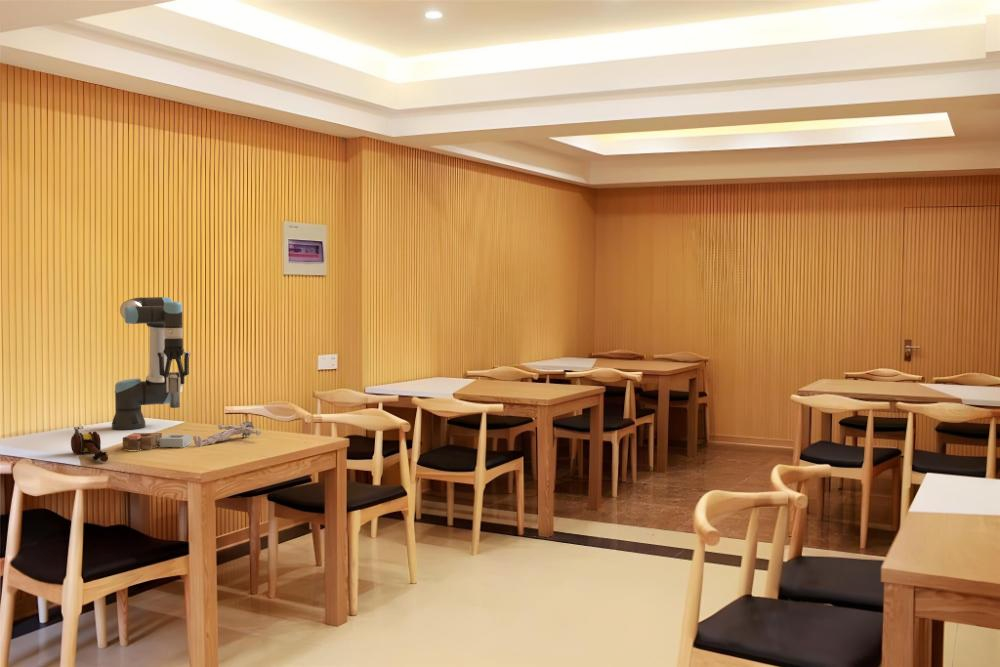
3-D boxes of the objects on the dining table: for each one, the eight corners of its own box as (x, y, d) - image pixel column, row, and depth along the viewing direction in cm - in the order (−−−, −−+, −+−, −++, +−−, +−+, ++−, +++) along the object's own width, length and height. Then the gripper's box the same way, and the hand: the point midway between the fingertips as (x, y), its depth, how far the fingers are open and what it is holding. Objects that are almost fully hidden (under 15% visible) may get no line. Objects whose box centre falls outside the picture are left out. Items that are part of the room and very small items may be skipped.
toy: (176, 433, 392) (231, 414, 416) (179, 451, 393) (234, 432, 417) (216, 439, 376) (271, 420, 400) (219, 458, 378) (274, 438, 402)
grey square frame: (168, 443, 390) (168, 434, 390) (191, 443, 390) (191, 434, 390) (159, 447, 380) (159, 438, 380) (183, 447, 380) (182, 438, 380)
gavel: (118, 468, 351) (91, 471, 345) (94, 448, 378) (68, 450, 371) (118, 443, 350) (91, 446, 344) (94, 425, 376) (68, 427, 370)
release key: (132, 447, 376) (132, 434, 376) (140, 447, 376) (140, 434, 376) (129, 448, 373) (128, 435, 372) (137, 448, 373) (137, 435, 372)
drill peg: (171, 406, 386) (171, 372, 386) (181, 406, 386) (181, 372, 386) (167, 407, 382) (167, 373, 381) (178, 407, 382) (177, 373, 381)
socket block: (134, 444, 388) (134, 432, 388) (162, 444, 388) (161, 433, 388) (118, 451, 372) (118, 439, 372) (147, 451, 372) (147, 439, 372)
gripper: (149, 338, 379) (151, 392, 380) (190, 338, 379) (191, 393, 380) (156, 337, 386) (157, 390, 388) (196, 337, 386) (197, 390, 388)
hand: (174, 391), depth 384 cm, fingers closed on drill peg, 4 cm apart
